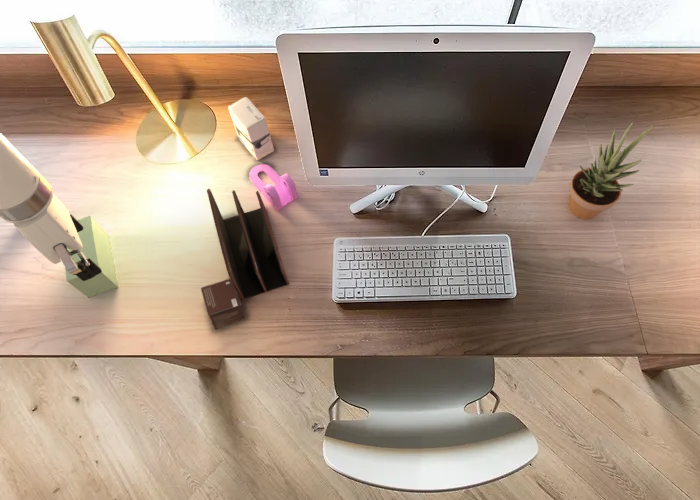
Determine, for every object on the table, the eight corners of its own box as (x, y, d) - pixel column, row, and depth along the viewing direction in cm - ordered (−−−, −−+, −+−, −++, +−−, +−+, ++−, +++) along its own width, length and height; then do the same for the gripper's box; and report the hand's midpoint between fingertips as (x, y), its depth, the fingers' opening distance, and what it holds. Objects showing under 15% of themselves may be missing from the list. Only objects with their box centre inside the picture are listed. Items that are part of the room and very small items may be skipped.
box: (207, 303, 97) (200, 286, 90) (237, 293, 98) (232, 276, 92) (215, 330, 94) (207, 315, 88) (246, 320, 95) (241, 305, 89)
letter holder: (242, 303, 97) (223, 272, 85) (221, 222, 106) (201, 184, 94) (291, 287, 98) (279, 254, 86) (266, 209, 108) (252, 169, 95)
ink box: (239, 142, 117) (226, 105, 107) (256, 131, 118) (245, 94, 108) (258, 164, 114) (246, 128, 103) (276, 153, 115) (266, 117, 104)
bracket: (298, 199, 108) (294, 181, 102) (278, 213, 107) (272, 195, 101) (266, 164, 113) (260, 144, 107) (245, 176, 112) (238, 157, 106)
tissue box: (90, 300, 99) (65, 281, 91) (82, 248, 105) (58, 226, 97) (120, 289, 100) (99, 269, 92) (111, 238, 106) (90, 215, 98)
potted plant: (602, 189, 106) (661, 106, 85) (609, 227, 102) (673, 149, 80) (555, 187, 107) (601, 103, 85) (559, 224, 103) (609, 146, 81)
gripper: (-23, 164, 70) (47, 226, 85) (6, 254, 62) (77, 305, 77) (30, 141, 71) (89, 206, 86) (64, 226, 64) (122, 281, 79)
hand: (83, 253), depth 82 cm, fingers open, 9 cm apart
